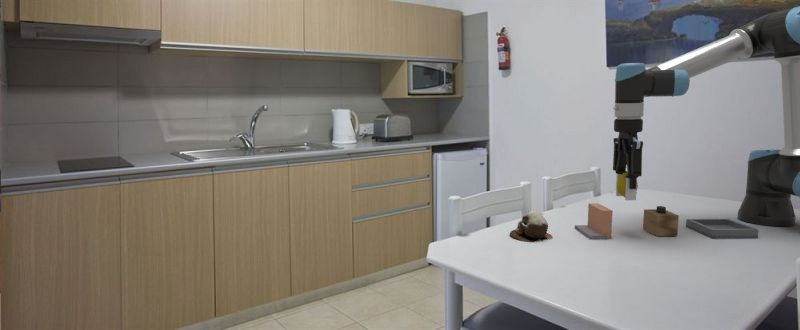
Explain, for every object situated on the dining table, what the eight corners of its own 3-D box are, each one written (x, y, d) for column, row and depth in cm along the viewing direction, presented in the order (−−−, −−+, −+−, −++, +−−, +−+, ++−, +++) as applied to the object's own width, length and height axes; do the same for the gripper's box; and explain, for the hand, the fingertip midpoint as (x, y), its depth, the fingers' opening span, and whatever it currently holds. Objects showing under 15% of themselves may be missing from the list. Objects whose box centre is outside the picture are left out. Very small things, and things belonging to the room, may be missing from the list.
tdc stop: (595, 228, 155) (597, 202, 154) (612, 239, 143) (614, 211, 142) (574, 228, 155) (575, 202, 154) (589, 239, 143) (591, 211, 142)
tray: (727, 226, 156) (728, 218, 156) (757, 238, 143) (758, 229, 143) (685, 226, 156) (686, 218, 156) (712, 238, 143) (712, 229, 143)
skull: (498, 231, 149) (517, 203, 151) (519, 250, 153) (537, 223, 155) (525, 239, 138) (545, 210, 140) (546, 260, 142) (565, 231, 144)
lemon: (639, 200, 145) (640, 173, 144) (618, 200, 146) (619, 173, 145) (634, 196, 150) (635, 170, 149) (614, 196, 151) (615, 170, 150)
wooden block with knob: (662, 228, 153) (664, 204, 152) (677, 235, 145) (679, 209, 144) (643, 228, 153) (644, 204, 152) (656, 235, 145) (658, 210, 144)
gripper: (602, 117, 154) (600, 192, 157) (630, 119, 135) (627, 204, 139) (626, 116, 154) (624, 191, 157) (658, 119, 136) (654, 204, 139)
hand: (625, 197), depth 148 cm, fingers closed on lemon, 5 cm apart
